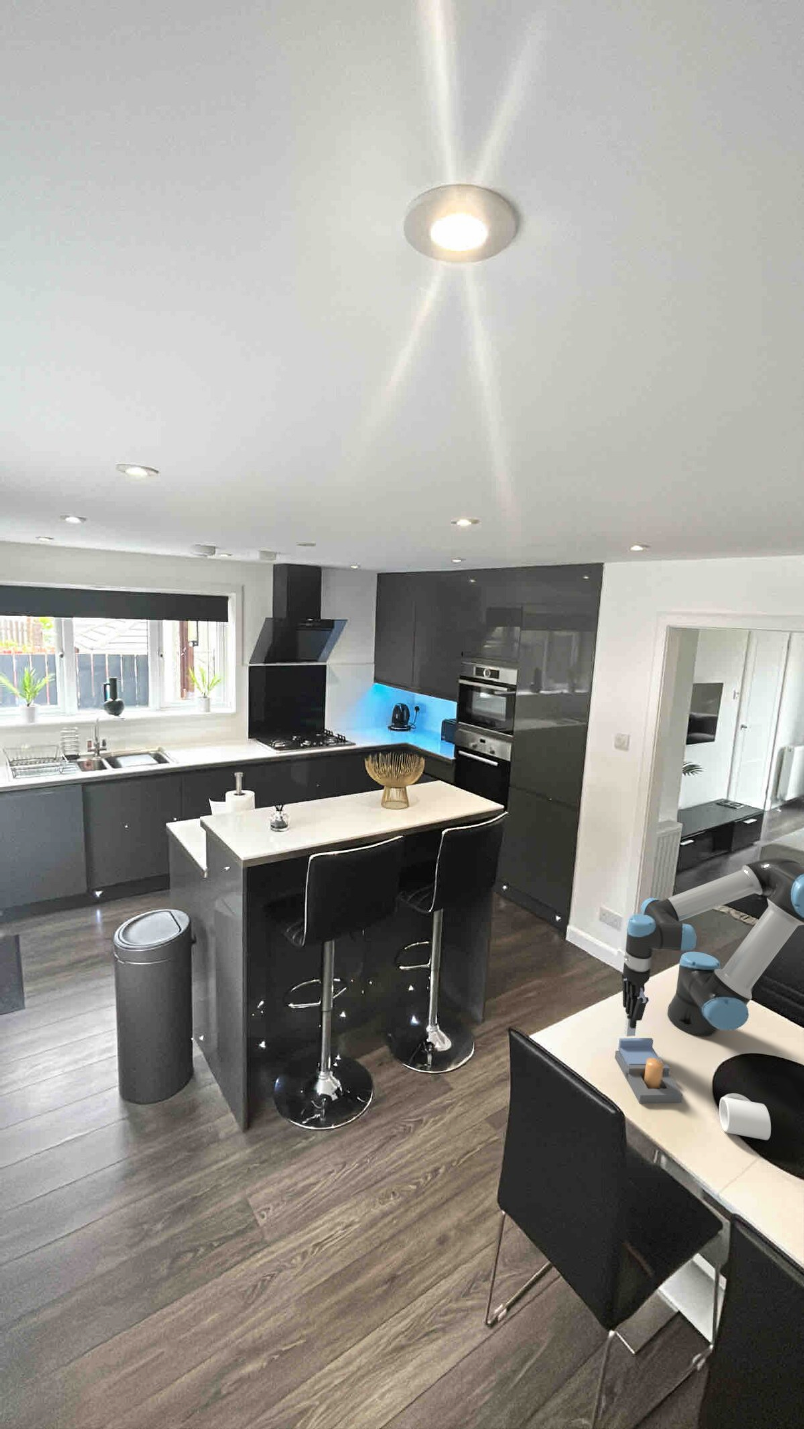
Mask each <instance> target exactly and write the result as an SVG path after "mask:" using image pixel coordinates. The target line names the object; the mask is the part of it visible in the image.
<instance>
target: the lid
mask: <svg viewBox="0 0 804 1429" xmlns="http://www.w3.org/2000/svg"><path fill="white" fill-rule="evenodd" d="M653 1043H654V1038H652V1037H629V1038H628V1037H620V1038H618V1051H620V1052H621V1054H622V1056H623V1058H624V1060H625V1061H626V1063H627V1065H646V1062H647V1059H648V1058H655V1059H658V1060H659V1061H661V1062H662V1060H661V1058H660V1056H659V1055H658V1054H657V1052H656V1050H655V1049H654V1046H653V1045H654V1044H653ZM662 1064H663V1065H664V1062H662Z"/></svg>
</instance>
